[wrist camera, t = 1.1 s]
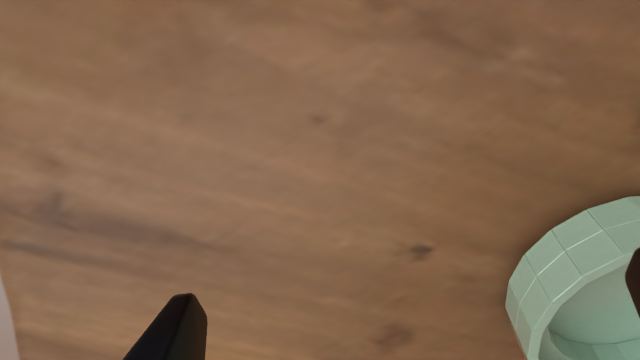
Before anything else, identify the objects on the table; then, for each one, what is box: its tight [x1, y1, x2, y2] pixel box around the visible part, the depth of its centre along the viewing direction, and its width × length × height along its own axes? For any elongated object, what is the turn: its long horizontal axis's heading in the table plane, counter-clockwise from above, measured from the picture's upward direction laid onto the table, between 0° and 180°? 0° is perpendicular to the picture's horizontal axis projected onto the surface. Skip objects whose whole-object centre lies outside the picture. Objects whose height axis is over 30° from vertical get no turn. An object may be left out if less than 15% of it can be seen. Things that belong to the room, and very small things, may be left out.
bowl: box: [505, 196, 640, 360], centre depth 26 cm, size 13×13×4 cm
